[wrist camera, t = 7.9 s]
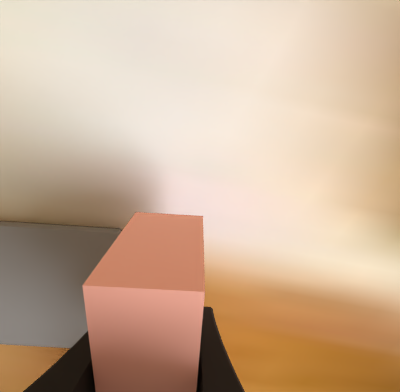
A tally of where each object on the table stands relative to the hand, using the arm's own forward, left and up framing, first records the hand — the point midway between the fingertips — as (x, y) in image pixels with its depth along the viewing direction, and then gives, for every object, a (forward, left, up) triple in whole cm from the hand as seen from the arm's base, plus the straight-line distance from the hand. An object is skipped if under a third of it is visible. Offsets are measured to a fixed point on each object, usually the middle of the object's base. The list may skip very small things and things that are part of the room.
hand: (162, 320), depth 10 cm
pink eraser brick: (0, 0, -2) cm, 2 cm away
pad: (-3, +9, -5) cm, 10 cm away
